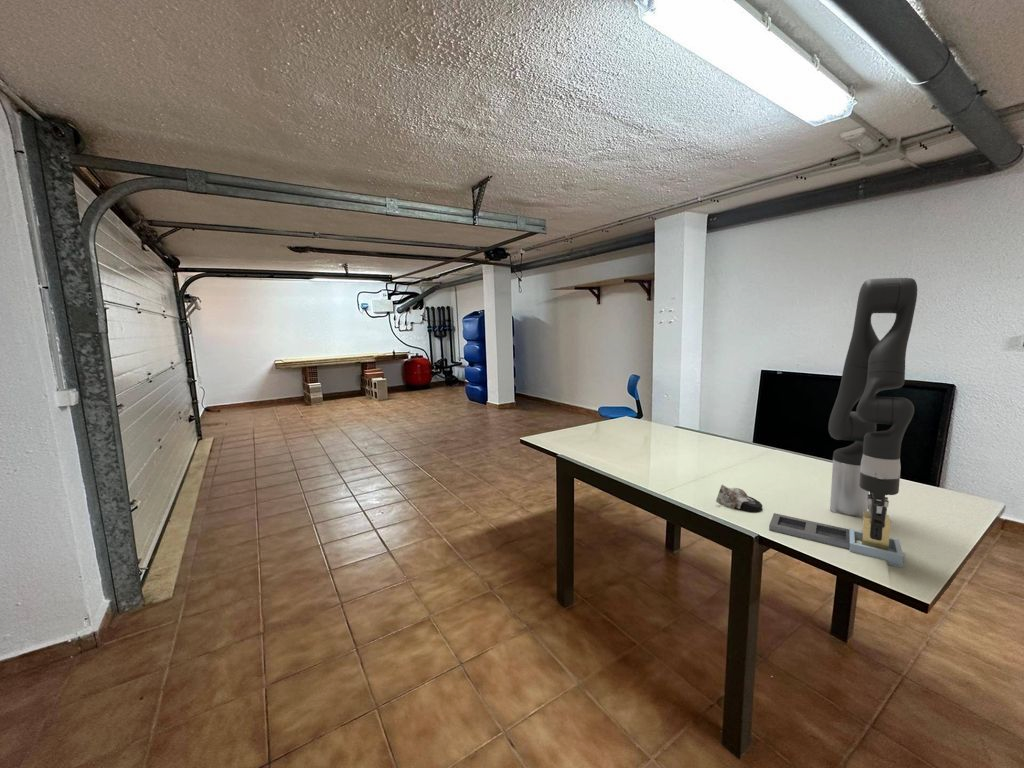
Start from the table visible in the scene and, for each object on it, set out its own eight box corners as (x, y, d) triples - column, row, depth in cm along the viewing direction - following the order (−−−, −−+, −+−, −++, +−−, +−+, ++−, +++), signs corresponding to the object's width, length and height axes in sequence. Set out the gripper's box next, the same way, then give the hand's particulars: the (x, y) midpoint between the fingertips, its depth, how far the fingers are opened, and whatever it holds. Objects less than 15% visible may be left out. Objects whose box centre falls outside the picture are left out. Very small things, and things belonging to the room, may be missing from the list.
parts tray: (848, 539, 111) (849, 528, 111) (898, 550, 105) (898, 539, 104) (849, 554, 104) (849, 543, 103) (902, 567, 97) (903, 555, 97)
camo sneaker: (763, 518, 130) (744, 520, 126) (733, 500, 140) (714, 501, 136) (770, 501, 129) (751, 502, 125) (739, 483, 139) (720, 484, 134)
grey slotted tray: (773, 520, 123) (773, 513, 123) (848, 537, 112) (849, 529, 112) (768, 533, 116) (769, 525, 116) (849, 552, 104) (849, 543, 104)
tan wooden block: (861, 538, 107) (863, 510, 107) (886, 544, 104) (888, 515, 103) (862, 546, 104) (864, 517, 103) (888, 552, 100) (890, 522, 100)
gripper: (859, 463, 110) (855, 521, 111) (861, 477, 99) (856, 541, 101) (897, 468, 105) (892, 528, 107) (903, 484, 94) (897, 551, 96)
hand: (875, 534), depth 104 cm, fingers closed on tan wooden block, 5 cm apart
